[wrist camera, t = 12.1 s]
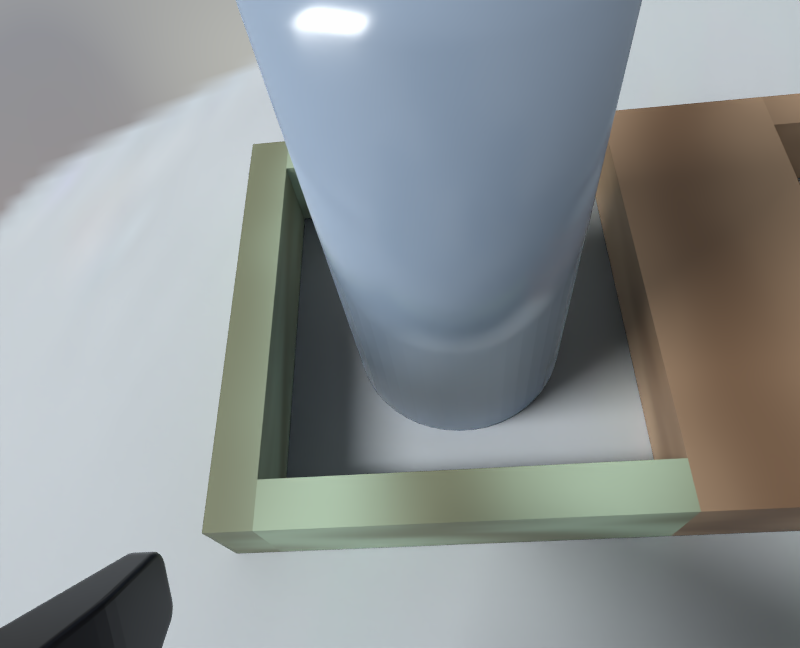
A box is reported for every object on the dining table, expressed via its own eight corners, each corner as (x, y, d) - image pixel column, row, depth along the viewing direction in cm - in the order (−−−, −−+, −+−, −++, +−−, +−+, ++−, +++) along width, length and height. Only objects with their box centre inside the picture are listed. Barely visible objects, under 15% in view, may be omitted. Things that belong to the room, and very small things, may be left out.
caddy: (1088, 125, 21) (1157, 60, 19) (1385, 507, 15) (1540, 474, 13) (273, 195, 23) (253, 144, 21) (236, 553, 17) (201, 533, 15)
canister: (460, 473, 17) (432, 121, 7) (321, 340, 20) (138, -70, 9) (600, 333, 19) (759, -130, 8) (455, 226, 22) (434, -235, 11)
